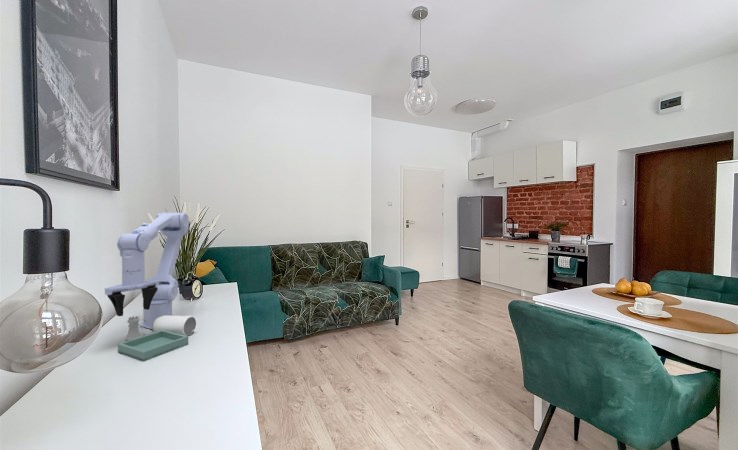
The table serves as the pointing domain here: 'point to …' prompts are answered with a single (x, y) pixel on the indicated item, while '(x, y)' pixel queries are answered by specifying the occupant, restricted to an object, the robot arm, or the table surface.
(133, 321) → the rook chess piece
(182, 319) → the can
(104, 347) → the table surface
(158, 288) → the robot arm
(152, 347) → the tray
